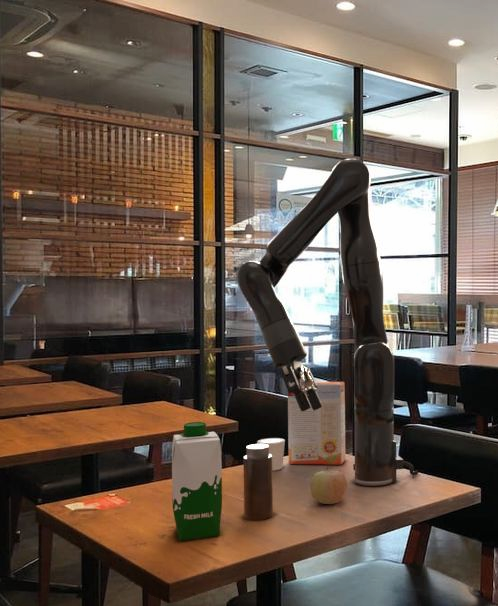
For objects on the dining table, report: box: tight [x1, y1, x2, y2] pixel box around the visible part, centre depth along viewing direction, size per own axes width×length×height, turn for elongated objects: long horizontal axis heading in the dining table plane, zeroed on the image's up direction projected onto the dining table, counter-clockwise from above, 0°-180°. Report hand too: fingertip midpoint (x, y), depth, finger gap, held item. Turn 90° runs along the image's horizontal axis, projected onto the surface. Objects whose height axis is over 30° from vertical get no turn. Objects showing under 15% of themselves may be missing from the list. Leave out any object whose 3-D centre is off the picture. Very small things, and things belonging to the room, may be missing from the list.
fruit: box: [310, 465, 348, 505], centre depth 149 cm, size 8×7×8 cm
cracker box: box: [287, 381, 346, 466], centre depth 183 cm, size 14×6×21 cm, turn 84°
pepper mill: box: [243, 443, 274, 521], centre depth 141 cm, size 6×6×14 cm
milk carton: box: [171, 421, 223, 542], centre depth 131 cm, size 9×9×20 cm
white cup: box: [256, 437, 286, 472], centre depth 178 cm, size 7×7×7 cm
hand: (312, 409), depth 155 cm, fingers open, 8 cm apart
